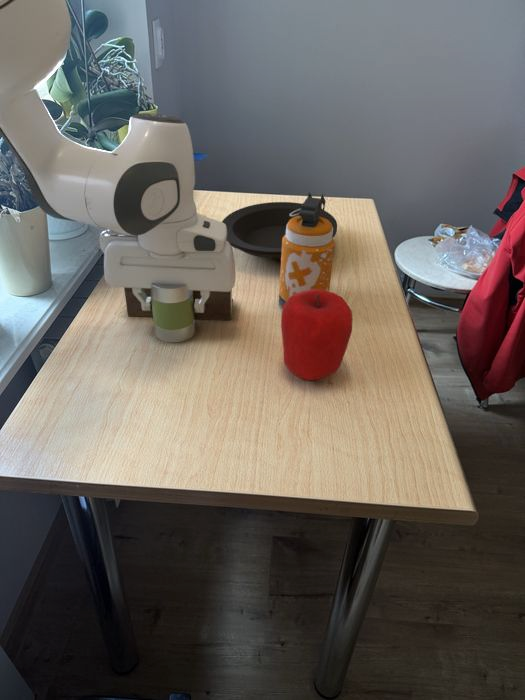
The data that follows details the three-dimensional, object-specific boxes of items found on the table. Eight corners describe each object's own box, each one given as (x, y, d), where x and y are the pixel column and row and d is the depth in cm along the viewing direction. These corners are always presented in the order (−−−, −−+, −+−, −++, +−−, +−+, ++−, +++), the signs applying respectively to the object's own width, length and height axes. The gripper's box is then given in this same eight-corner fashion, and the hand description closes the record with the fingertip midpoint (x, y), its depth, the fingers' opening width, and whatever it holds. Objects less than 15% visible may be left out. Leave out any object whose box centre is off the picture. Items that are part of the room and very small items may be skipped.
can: (162, 346, 85) (157, 292, 79) (149, 326, 90) (143, 273, 84) (201, 336, 88) (198, 283, 82) (186, 317, 93) (183, 265, 87)
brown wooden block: (127, 316, 92) (122, 280, 88) (134, 300, 97) (130, 265, 93) (230, 320, 92) (230, 285, 88) (233, 304, 97) (233, 269, 93)
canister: (272, 312, 95) (278, 204, 83) (288, 284, 103) (295, 182, 92) (321, 321, 93) (334, 211, 81) (333, 292, 101) (346, 189, 90)
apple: (330, 401, 76) (341, 321, 68) (266, 379, 79) (269, 301, 71) (353, 362, 84) (366, 286, 76) (294, 344, 87) (300, 269, 79)
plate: (295, 289, 102) (297, 263, 98) (195, 257, 112) (194, 232, 108) (353, 240, 121) (357, 216, 118) (264, 216, 131) (265, 194, 128)
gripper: (91, 236, 76) (105, 317, 84) (233, 242, 76) (233, 323, 84) (103, 219, 81) (115, 297, 89) (236, 224, 81) (236, 302, 89)
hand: (173, 310), depth 87 cm, fingers open, 7 cm apart
